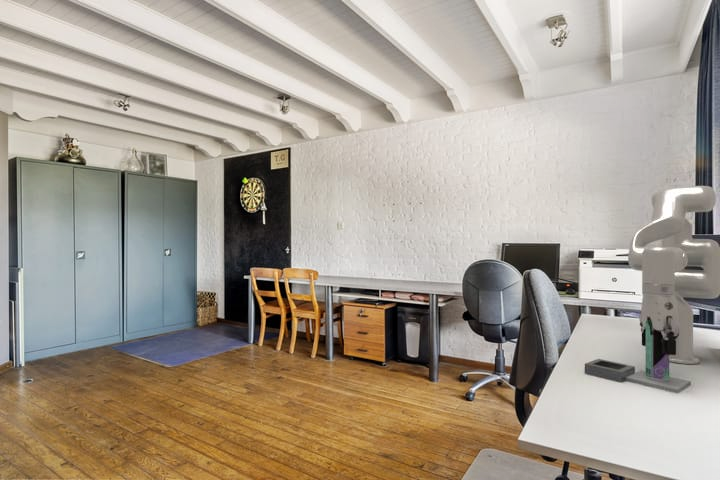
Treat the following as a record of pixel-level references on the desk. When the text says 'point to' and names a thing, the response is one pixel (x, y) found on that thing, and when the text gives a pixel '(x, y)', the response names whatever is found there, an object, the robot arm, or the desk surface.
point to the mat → (672, 386)
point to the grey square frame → (609, 370)
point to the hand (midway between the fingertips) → (658, 350)
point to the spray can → (655, 355)
